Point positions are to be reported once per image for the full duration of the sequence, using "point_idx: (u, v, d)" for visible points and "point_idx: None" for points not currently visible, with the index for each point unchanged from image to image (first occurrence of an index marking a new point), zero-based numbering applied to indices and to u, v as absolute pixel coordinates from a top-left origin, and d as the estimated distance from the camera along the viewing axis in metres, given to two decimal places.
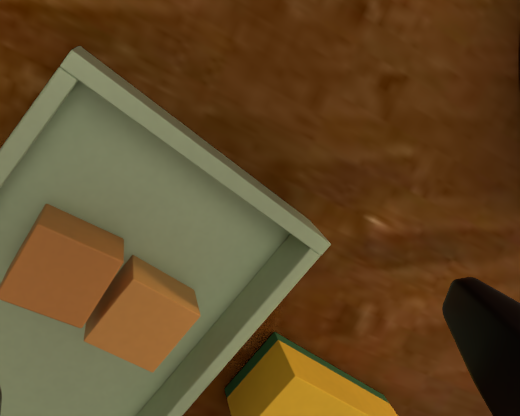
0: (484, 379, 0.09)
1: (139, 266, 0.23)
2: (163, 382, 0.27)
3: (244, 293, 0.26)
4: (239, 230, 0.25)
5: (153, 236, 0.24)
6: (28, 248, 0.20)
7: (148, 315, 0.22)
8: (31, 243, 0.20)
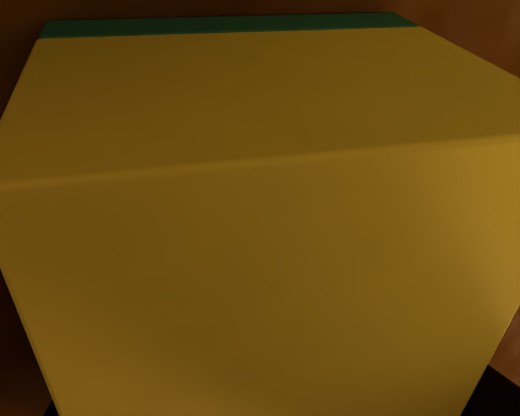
0: None
1: None
2: None
3: None
4: None
5: None
6: None
7: None
8: None
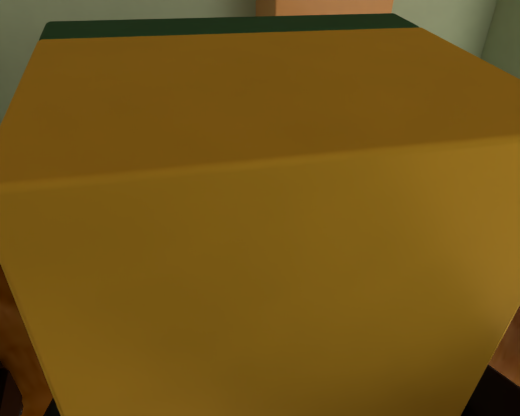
0: None
1: None
2: None
3: None
4: None
5: None
6: None
7: None
8: None
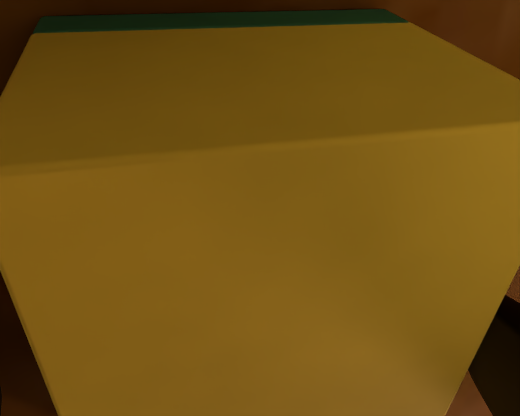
0: (484, 379, 0.09)
1: None
2: None
3: None
4: None
5: None
6: None
7: None
8: None
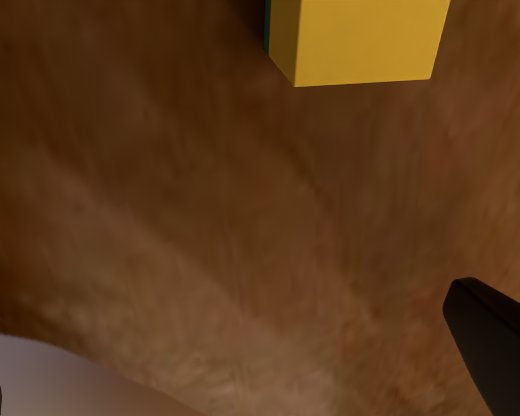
0: (484, 379, 0.09)
1: None
2: None
3: None
4: None
5: None
6: None
7: None
8: None
